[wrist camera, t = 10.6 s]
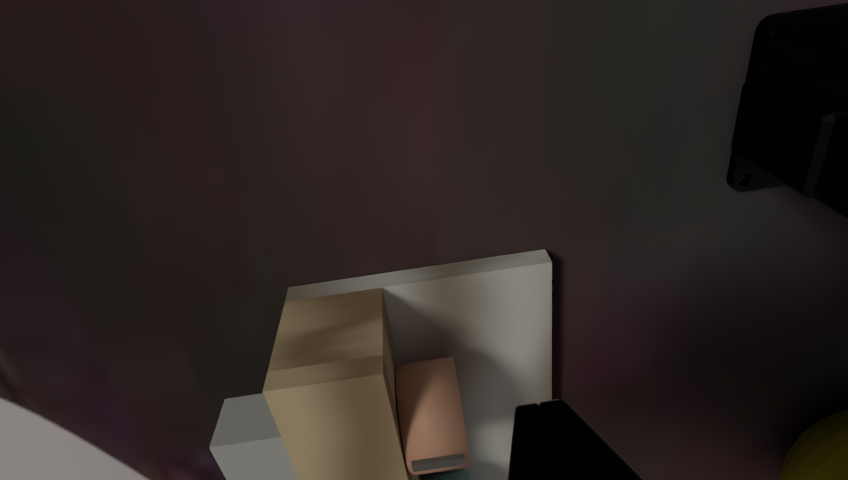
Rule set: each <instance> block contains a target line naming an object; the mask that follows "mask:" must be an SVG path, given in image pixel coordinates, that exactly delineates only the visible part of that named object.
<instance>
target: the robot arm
mask: <svg viewBox="0 0 848 480" xmlns="http://www.w3.org/2000/svg"><path fill="white" fill-rule="evenodd" d="M775 25H777V30H776V32H775V34H774V35H773V36H771V37H770V31H771V29H772V28H773V27H774V26H775ZM731 148H732V153H731V158H730V163H729V169H728V174H727V183H728V185H729V186H731V187H732V188H733V189H735V190H737V191H749V190H755V189H762V188H769V187H776V186H782V185H787V186H789V187H790V188H792V189H793V190H795V191H797V192H798V193H800V194H801V195H803V196H805V197H808V198H809V197H814V198H815V199H817V200H819V201H820V202H822V203H823V204H825V205H827V206H828V207H830V208H831V209H833V210H835V211H836V212H838V213H839V214H841V215H843V216H844V217H846V218H848V3H844V4H837V5H831V6H824V7H817V8H811V9H804V10H797V11H791V12H784V13H777V14H772V15H769V16H767V17H765V18H764V19H763V20H761V22H760V23H759V24H758V26H757V28H756V31H755V35H754V40H753V45H752V50H751V56H750V61H749V66H748V71H747V76H746V81H745V83H744V85H743V88H742V93H741V98H740V103H739V108H738V114H737V119H736V124H735V129H734V134H733V139H732V145H731ZM745 174H746V175H745ZM743 175H745V177H744V178H743V179H742V180H741V181H739V179H740V178H741V177H742V176H743ZM508 480H642V479H641V478H640V477H639V476H638V475H637V474H636V473H635V472H634V471H633V470H632V469H631V468H630V467H629V466H628V465H627V464H626V463H625V462H624V461H623V460H622V459H621V458H620V457H619V456H618V455H617V454H616V453H615V452H614V451H613V450H612V449H611V448H610V447H609V446H608V445H607V444H606V443H605V442H604V441H603V440H602V439H601V438H600V437H599V436H598V435H597V434H596V433H595V432H594V431H593V430H592V429H591V428H590V427H589V426H588V425H587V424H586V423H585V422H584V421H583V420H582V419H581V418H580V417H579V416H578V415H577V414H576V413H575V412H574V411H573V410H572V409H571V408H570V407H569V406H568V405H567V404H566V403H565V402H564V401H563V400H561V399H555V400H549V401H543V402H540V403H539V405H538V404H536V403H531V404H525V405H519V406H517V407H516V408H515V414H514V424H513V433H512V443H511V452H510V462H509V472H508Z"/></svg>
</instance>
